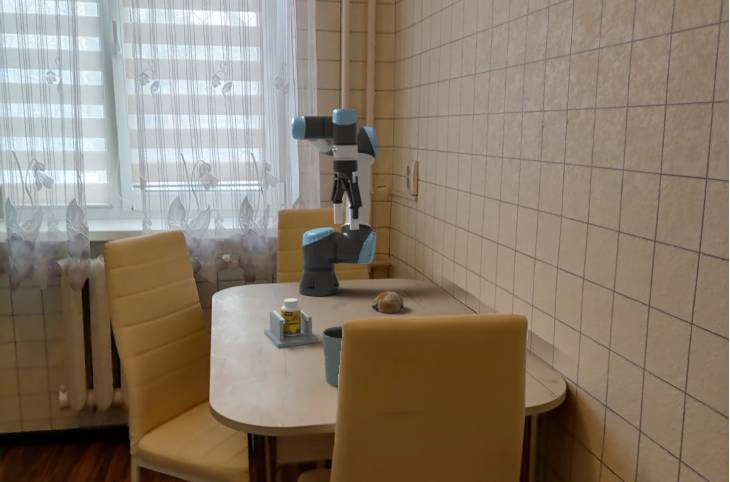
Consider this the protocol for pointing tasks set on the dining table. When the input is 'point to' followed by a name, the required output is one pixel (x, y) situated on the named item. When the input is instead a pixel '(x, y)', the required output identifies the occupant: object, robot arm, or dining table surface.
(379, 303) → the brown domed lump
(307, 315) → the clip cradle
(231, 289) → the dining table surface
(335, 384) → the grey-green cup
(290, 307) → the supplement bottle
